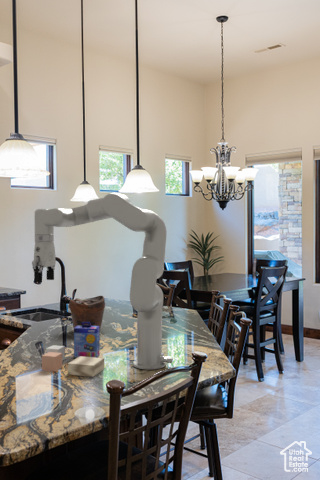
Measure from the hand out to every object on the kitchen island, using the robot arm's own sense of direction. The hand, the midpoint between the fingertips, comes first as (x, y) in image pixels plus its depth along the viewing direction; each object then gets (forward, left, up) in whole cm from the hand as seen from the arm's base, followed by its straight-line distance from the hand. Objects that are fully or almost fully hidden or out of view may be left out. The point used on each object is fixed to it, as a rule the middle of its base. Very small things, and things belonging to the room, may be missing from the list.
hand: (44, 281), depth 197 cm
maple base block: (-25, +14, -31) cm, 42 cm away
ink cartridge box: (-16, -6, -32) cm, 36 cm away
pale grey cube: (-7, +4, -31) cm, 32 cm away
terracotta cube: (-11, +14, -31) cm, 36 cm away
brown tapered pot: (+4, -50, -31) cm, 59 cm away
